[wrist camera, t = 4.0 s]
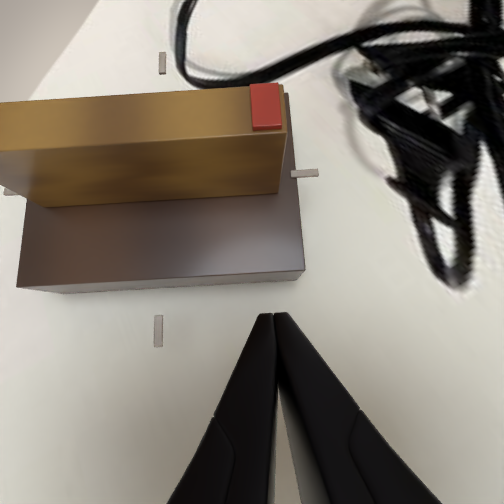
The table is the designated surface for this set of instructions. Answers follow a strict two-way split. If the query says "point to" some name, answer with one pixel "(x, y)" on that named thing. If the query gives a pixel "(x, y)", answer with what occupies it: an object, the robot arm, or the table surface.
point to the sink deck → (166, 240)
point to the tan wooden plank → (144, 146)
